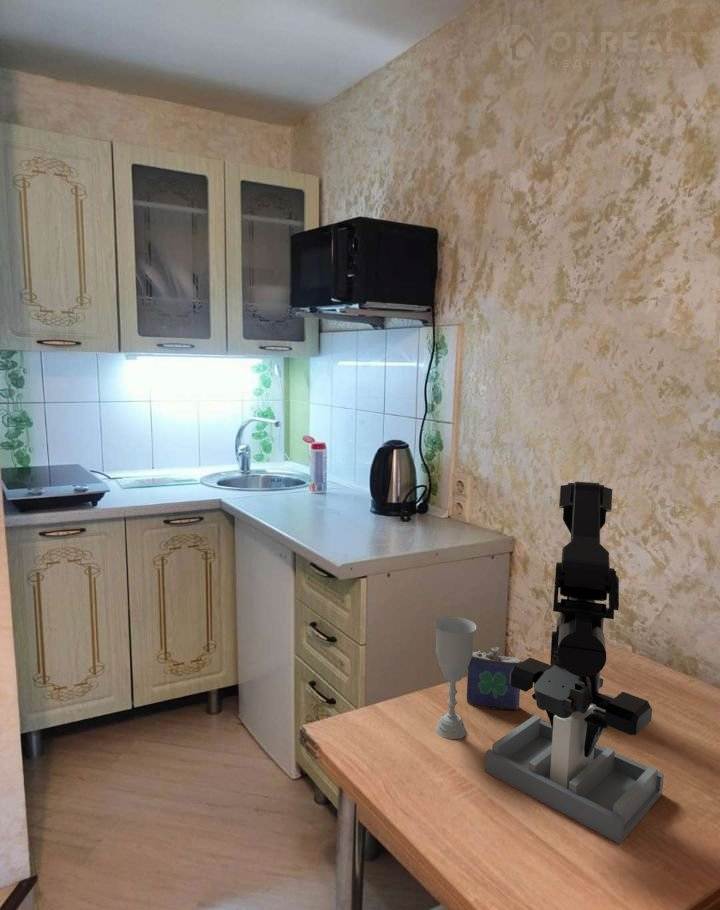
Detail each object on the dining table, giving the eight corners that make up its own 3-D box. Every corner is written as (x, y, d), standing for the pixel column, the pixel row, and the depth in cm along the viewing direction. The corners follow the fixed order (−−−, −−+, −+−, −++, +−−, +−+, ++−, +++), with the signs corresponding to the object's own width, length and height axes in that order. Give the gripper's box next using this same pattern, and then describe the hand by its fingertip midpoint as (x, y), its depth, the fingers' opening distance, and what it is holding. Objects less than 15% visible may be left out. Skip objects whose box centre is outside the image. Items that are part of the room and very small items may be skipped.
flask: (519, 705, 110) (522, 647, 109) (518, 713, 108) (521, 654, 106) (467, 697, 113) (469, 640, 112) (465, 705, 110) (467, 647, 109)
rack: (484, 770, 91) (485, 745, 91) (534, 734, 101) (535, 711, 101) (619, 844, 77) (621, 814, 77) (662, 794, 87) (664, 767, 87)
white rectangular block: (549, 783, 87) (553, 716, 86) (576, 760, 93) (580, 696, 92) (566, 792, 86) (570, 723, 84) (592, 767, 91) (597, 703, 90)
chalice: (426, 718, 105) (429, 616, 103) (465, 717, 106) (469, 616, 104) (435, 743, 98) (439, 634, 96) (477, 742, 99) (482, 633, 97)
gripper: (490, 640, 88) (485, 743, 90) (622, 688, 75) (613, 808, 76) (531, 620, 96) (526, 715, 97) (657, 660, 82) (648, 770, 84)
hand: (573, 749), depth 89 cm, fingers open, 4 cm apart
